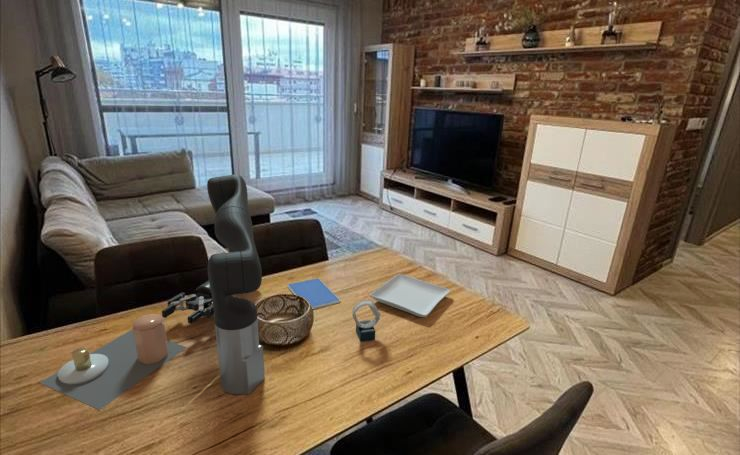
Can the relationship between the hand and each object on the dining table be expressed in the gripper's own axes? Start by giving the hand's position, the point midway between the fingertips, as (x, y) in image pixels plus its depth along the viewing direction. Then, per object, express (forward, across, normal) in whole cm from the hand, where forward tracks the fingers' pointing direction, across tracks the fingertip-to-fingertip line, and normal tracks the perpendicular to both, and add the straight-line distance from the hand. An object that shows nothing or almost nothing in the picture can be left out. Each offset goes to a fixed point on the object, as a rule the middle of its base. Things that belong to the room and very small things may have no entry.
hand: (175, 317), depth 108 cm
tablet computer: (-37, +24, +7) cm, 44 cm away
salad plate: (-45, +57, +7) cm, 73 cm away
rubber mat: (+14, -6, +7) cm, 17 cm away
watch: (-19, +48, +7) cm, 53 cm away
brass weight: (+19, -11, +5) cm, 22 cm away
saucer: (+19, -11, +6) cm, 22 cm away
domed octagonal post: (+9, 0, +6) cm, 10 cm away
